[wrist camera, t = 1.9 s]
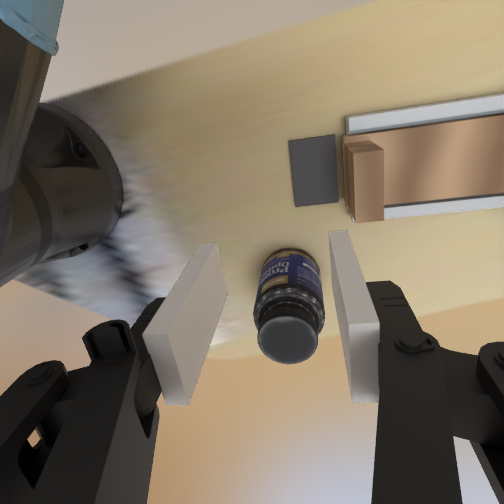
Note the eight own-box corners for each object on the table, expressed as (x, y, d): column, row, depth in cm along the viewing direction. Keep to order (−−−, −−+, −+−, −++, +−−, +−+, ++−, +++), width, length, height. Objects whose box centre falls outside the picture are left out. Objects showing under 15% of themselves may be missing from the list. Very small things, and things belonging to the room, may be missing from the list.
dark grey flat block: (295, 205, 34) (295, 206, 33) (288, 140, 31) (288, 141, 31) (338, 200, 33) (338, 202, 32) (334, 134, 30) (335, 135, 30)
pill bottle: (283, 236, 35) (277, 293, 25) (332, 268, 36) (345, 335, 26) (250, 279, 38) (233, 346, 28) (297, 308, 38) (296, 383, 28)
